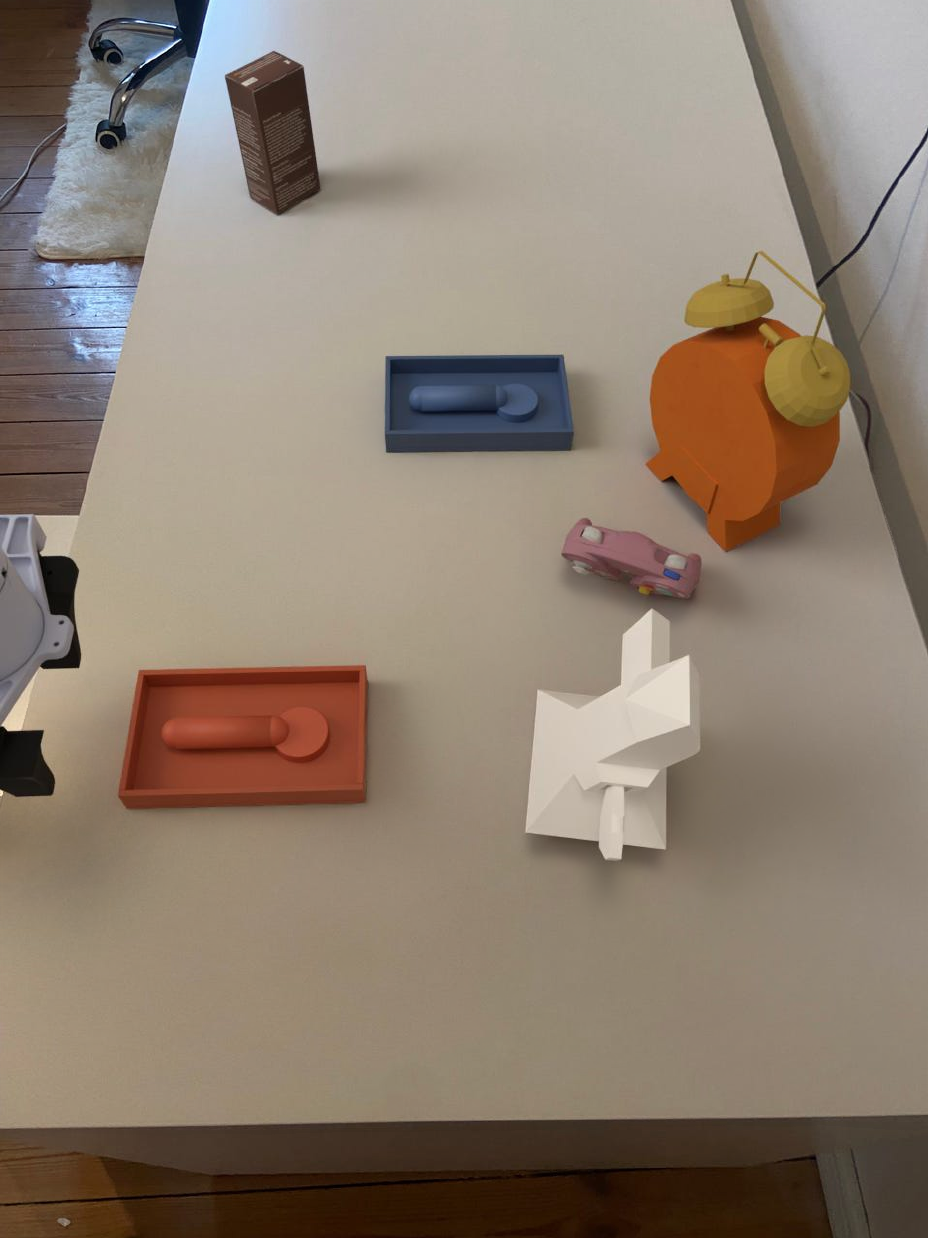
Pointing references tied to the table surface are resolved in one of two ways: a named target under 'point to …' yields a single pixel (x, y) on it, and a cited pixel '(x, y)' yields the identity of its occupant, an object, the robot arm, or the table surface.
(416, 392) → the blue spoon
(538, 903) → the table surface
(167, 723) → the red spoon
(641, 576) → the pink toy car
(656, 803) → the white faceted sculpture
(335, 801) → the red tray
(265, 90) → the box
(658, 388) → the alarm clock
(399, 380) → the blue tray
